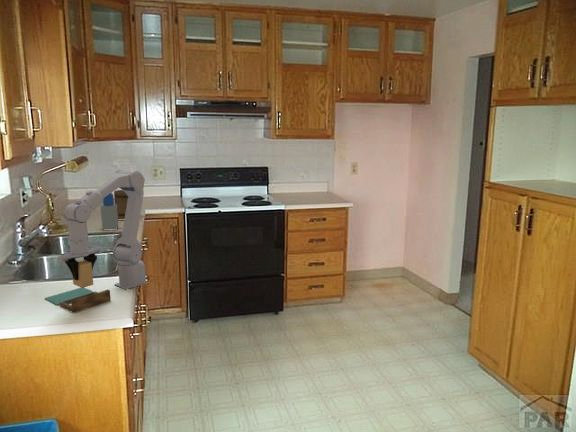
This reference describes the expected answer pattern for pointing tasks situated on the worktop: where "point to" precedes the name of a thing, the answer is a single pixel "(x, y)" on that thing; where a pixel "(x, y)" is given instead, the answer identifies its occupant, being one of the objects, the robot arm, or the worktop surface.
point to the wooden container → (121, 203)
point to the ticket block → (84, 274)
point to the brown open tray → (86, 301)
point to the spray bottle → (109, 213)
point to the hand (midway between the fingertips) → (82, 277)
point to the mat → (67, 295)
